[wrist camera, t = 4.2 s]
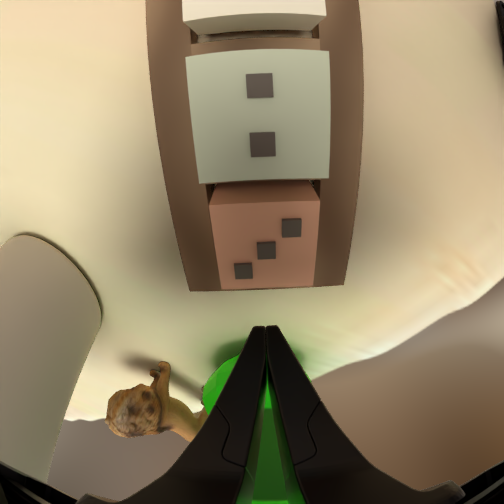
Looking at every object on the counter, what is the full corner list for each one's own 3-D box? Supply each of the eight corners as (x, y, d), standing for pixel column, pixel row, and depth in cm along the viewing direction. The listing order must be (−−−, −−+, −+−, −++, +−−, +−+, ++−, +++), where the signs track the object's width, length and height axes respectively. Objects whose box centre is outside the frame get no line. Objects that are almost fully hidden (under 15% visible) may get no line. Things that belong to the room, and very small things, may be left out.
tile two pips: (312, 59, 10) (330, 50, 7) (313, 158, 12) (329, 180, 10) (201, 63, 10) (183, 56, 7) (210, 162, 13) (198, 185, 10)
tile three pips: (308, 179, 14) (321, 202, 12) (305, 254, 17) (313, 288, 14) (216, 182, 15) (208, 207, 12) (226, 257, 17) (221, 291, 15)
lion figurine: (116, 359, 26) (94, 429, 18) (134, 342, 24) (109, 424, 16) (218, 407, 31) (213, 468, 24) (245, 396, 29) (243, 465, 22)
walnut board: (339, -51, 6) (347, -61, 5) (338, 270, 18) (343, 284, 17) (155, -42, 7) (146, -51, 5) (193, 276, 19) (189, 291, 17)
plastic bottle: (206, 325, 22) (179, 625, 1) (328, 338, 23) (359, 608, 2) (201, 381, 27) (184, 589, 6) (294, 389, 28) (304, 586, 7)
